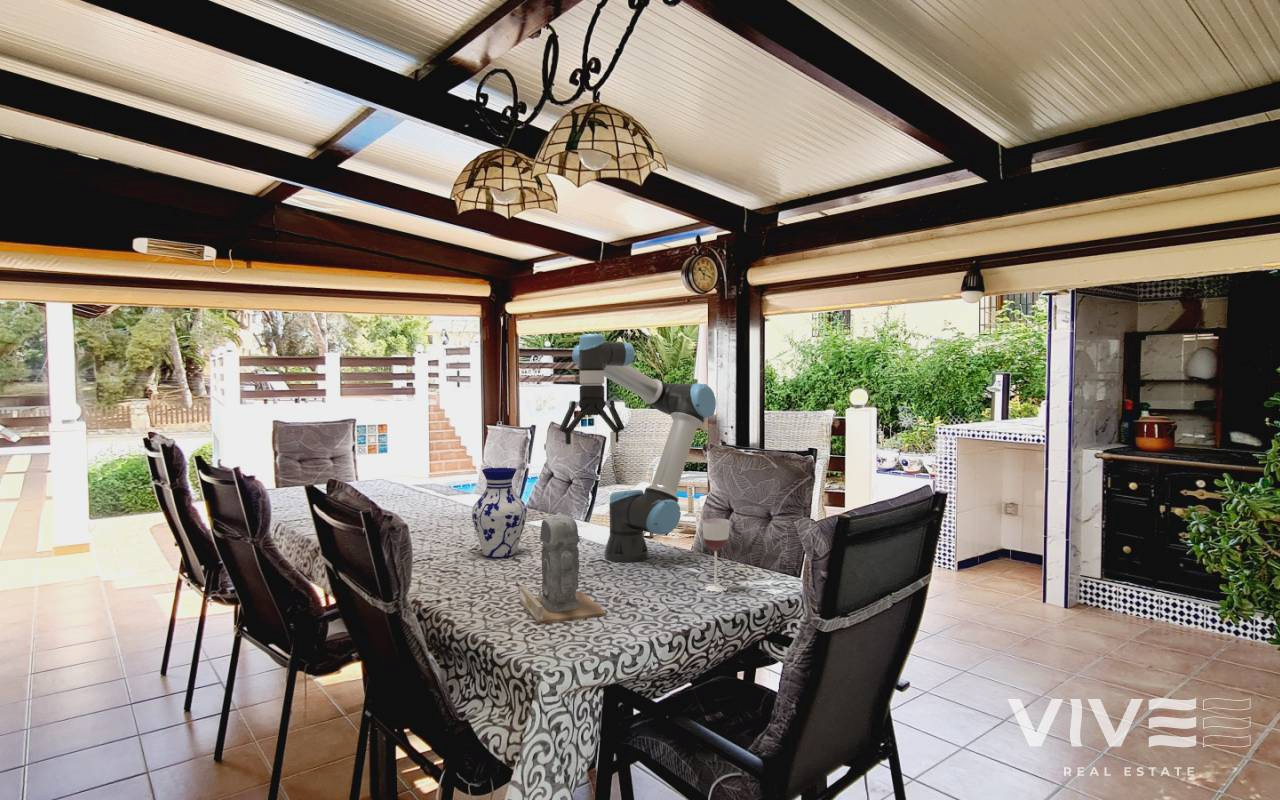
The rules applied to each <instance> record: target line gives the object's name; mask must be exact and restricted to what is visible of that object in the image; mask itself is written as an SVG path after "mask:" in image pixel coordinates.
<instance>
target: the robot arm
mask: <svg viewBox="0 0 1280 800" xmlns="http://www.w3.org/2000/svg"><path fill="white" fill-rule="evenodd" d="M578 342H579V343H578V344H577V345H575V347H574V348H573V350H572V353H571V357H572V360H573V363H574V364H575V365H576V366H578V367H579V384H581V385H580V386H579V400H578V401H575V400H570V401H569V403H568V405H569V406H568V410H567V411H566V413H565V415H564V418H563V420H562V422H561V425H560V426H559V428H558V429H559V430H558V431H559V432H561V433H564V435H565V445H568V456H572V457H573V456H575V455H574V453H575V448H574V444H575V442H574V441H575V440H574V433H572V432H573V431H574V429H576V427H577V426H578V424H579V423H580V422H581V420H582V419H583V418H584V417H585V416H598V415H599V416H600V418H602V420H604V422H605V423H606V425H607V426H608V427H609V428H610V429H611V430H612V431H610V433H609V434H610V437H609V440H610V442H609V443H610V445H609V446H610V447H609V448H610V449H609V450H610V453H611V454H613V455H615V454H617V443H618V442H619V433H620V432H621V431H622V430H623V431H624V430H625V426H624V423H623V422H622V419H621V417H620V415H619V413H618V411H617V408H616V405H615V400H613V399H611V400H610V399H608V400H606V399H605V386H604V384H605V378H607V379H608V380H610V381H612V382H613V383H614V384H617V385H619V386H620V387H622V388H624V389H626V390H627V391H629V392H631V393H633V394H635V395H637V396H638V397H639V398H641V399H642V402H643V403H645V404H647V405H649V406H650V407H652V408H654V409H655V410H658V411H660V412H661V413H664V414H667V415H669V416H670V417H671V419H672V424H671V427H670V430H669V432H668V435H667V438H666V440H665V445H664V447H663V451H662V453H661V455H660V456H661V457H660V459H659V462H658V465H657V468H656V471H655V474H654V477H653V479H652V482H651V484H650V485H649V486H646V487H645V489H644V490H642V489H632V490H623V491H621V490H620V491H615V492H612V493H611V494H610V497H609V503H608V505H609V537H608V539H607V543H606V546H605V549H604V558H605V559H606V560H608V561H611V562H619V563H620V562H621V563H635V562H641V561H645V560H646V559H648V558H649V549H648V545H647V542H646V539H645V536H644V532H647V533H651V534H654V535H667V534H670V533H671V532H672V531H674V530H675V529H676V528H677V526H678V524H679V523H680V520H681V515H682V513H681V507H680V505H679V503H678V502H679V497H678V495H677V491H678V487H679V484H680V482H681V479H682V478H681V477H682V475H683V473H684V472H683V471H684V469H685V467H686V463H687V461H688V460H687V459H688V457H689V454H690V452H691V448H692V445H693V441H694V438H695V435H696V433H697V430H698V429H699V428H701V427H702V426H703V425H704V422H705V419H708V418H710V417H711V416H713V415H714V413H715V410H716V406H717V400H716V399H717V398H716V396H715V394H714V391H713V389H712V388H711V386H709V385H707V384H706V383H705V384H704V383H697V382H695V383H671V382H665V381H661V380H660V379H659V378H651V377H650V376H648V375H647V374H645V373H643V372H641V371H640V370H638V369H636V368H634V367H633V366H631V364H632V363H633V361H634V359H635V357H636V356H635V348H634V346H633V345H632V344H631V343H629V342H624V341H606V340H605V337H604V335H603V334H601V333H586V334H585V333H583V334H581V335H580V337H579V341H578ZM578 407H579V408H580V410H579V411H578V413H577V415H576V416H575V417H574V419H572V417H573V414H574V413H575V412H576V411H575V410H576V409H577V408H578ZM605 407H606V408H608V410H609V412H610V414H611V416H612V419H613V420H612V419H611V418H610V416H609V415H608V414H607V412H606V410H605ZM571 419H572V421H571ZM570 421H571V422H570ZM613 421H614V422H613Z"/></svg>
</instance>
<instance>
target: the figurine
mask: <svg viewBox="0 0 1280 800" xmlns="http://www.w3.org/2000/svg"><path fill="white" fill-rule="evenodd" d="M539 540H540V542H541V543H542V546H541V574H542V575H541V576H542V579H541V581H542V582H541V584H542V587H541V588H542V589H541V591H542V593H541V594H542V596H540V597H541V600H540V603H541V605H543V607H544V608H545V609H546V610H547V611H548V612H563V611H570V610H575V609H578V608H579V607H580V603H579V601H578V600H577V599H576V596H575V594H576V593H577V590H578V589H579V573H580V572H579V571H580V559H579V557H580V555H579V554H580V552H579V551H580V550H579V547H578V545H579V542H580V540H581V539H580V537H579V530H578V524H577V522H576V520H575V519H574V518H573V517H572V516H569V515H567V514H563V513H561V511H560V512H559V511H558V512H557V513H556V514H553V515H550V516H548V517H546V518H545V519H542V522H541V527H540V535H539Z"/></svg>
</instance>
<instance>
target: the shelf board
mask: <svg viewBox="0 0 1280 800" xmlns="http://www.w3.org/2000/svg"><path fill="white" fill-rule="evenodd" d="M575 596H576V599H577V600H578V601H579V603H580V607H579V608H578V609H575V610H570V611H563V612H548V611H547V610H546V609H545V608H544V607H543V605H541V603H540V600H541V597H542V596H536V597H535V596H534V595H533V594H532V593H531V592H530V591H529V590H528V588H527V587H526V586H524V585H521V586H519V602H520V605H522V606H523V608H524V609H525V610H526V611H527V613H528V614H529V615H530V616H531V617H532V619H533V620H534V621H535V623H536V624H537V625H543V624H551V623H558V622H566V621H574V620H576V621H577V620H581V619H583V620H584V619H590V618H598V617H605V616H606V617H607V612H606V611H605V610H604V609H603V608H601V606H599V605H598V604H597V603H596V602H595V601H593V600H592V599H591V598H590V597H589V596H588V595H587V594H585V593H584V592H583V591H582V592H576V594H575Z"/></svg>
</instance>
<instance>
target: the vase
mask: <svg viewBox="0 0 1280 800" xmlns="http://www.w3.org/2000/svg"><path fill="white" fill-rule="evenodd" d="M481 471H482V474H483V476H484V477H485V480H486V488H485V490H484V492H483V493H482V495H481V496H480V497H479V499H477V500H476V502H475V503H474V504H473V506H472V509H471V517H472V518H471V520H472V523H473V526H474V529H475V532H476V536H477V540H478V542H479V545H480V547H481V550H482V551H481V552H482V554H483V557H485V558H488V559H507V558H511V557H514V556H516V553H517V550H518V547H519V543H520V541H521V538H522V534H523V532H524V531H523V530H524V528H525V524H526V520H527V517H528V516H527V515H528V513H527V512H528V510H527V506H526V504H525V502H524V501H523V500H522V499H521V498H520V496H519V495H518V494H517V493H516V492H515V490H514V488H513V479H514V476H515V474H516V472H517V468H514V467H489V468H488V467H487V468H483V469H481Z"/></svg>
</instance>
